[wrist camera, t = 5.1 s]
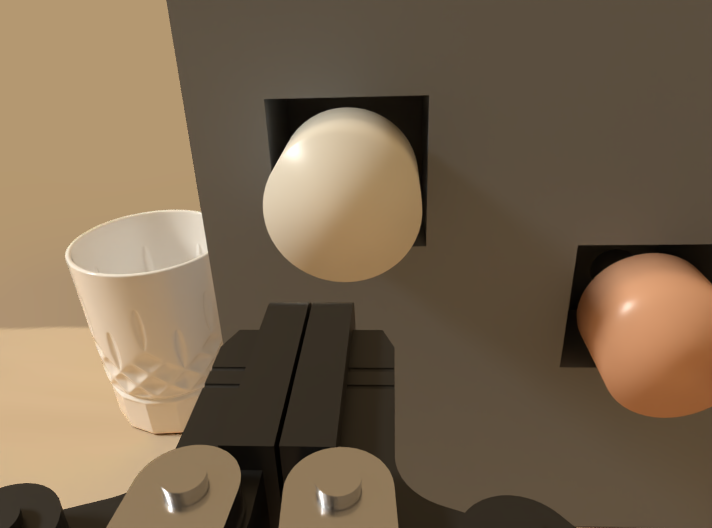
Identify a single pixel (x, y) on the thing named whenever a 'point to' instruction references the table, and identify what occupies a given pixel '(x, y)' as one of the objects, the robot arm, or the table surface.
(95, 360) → the table surface
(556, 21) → the button console
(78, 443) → the table surface
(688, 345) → the terracotta button
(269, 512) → the robot arm
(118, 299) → the white cup
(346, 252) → the cream button
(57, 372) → the table surface
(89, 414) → the table surface
